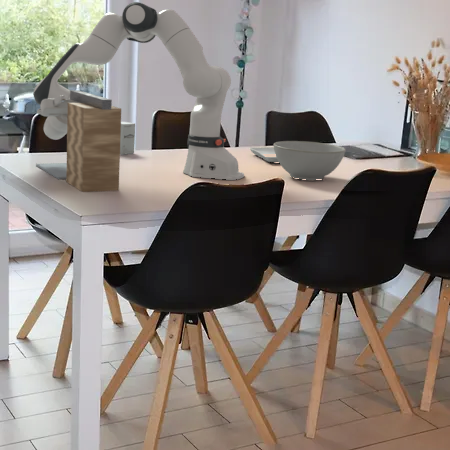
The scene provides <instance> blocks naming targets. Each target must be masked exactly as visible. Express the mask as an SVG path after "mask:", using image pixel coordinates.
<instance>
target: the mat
mask: <svg viewBox="0 0 450 450" xmlns="http://www.w3.org/2000/svg"><path fill="white" fill-rule="evenodd" d="M35 165H36V167H38V168H39V169H40V170H42V171H44V172H46V173H47V174H49V175H51V176H52V177H54V178H55V179H57V180H66V172H67V162H53V163H52V162H51V163H49V162H47V163H45V162H44V163H36V164H35Z"/></svg>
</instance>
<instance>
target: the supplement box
mask: <svg viewBox="0 0 450 450" xmlns="http://www.w3.org/2000/svg"><path fill="white" fill-rule="evenodd" d="M135 137H136V123H134V122H128V121H121V137H120V156H122V155H130V154H131V155H132V154H133V153H134V154H135V139H136V138H135Z"/></svg>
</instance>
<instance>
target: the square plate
mask: <svg viewBox="0 0 450 450" xmlns="http://www.w3.org/2000/svg"><path fill="white" fill-rule="evenodd" d="M248 150H250V151H251V153H252V154H254V155H255V156H257V157H258V158H260V157H261V158H260V159H262V158H263V160H264V161H266V162H267V163H270V162H279V161H278V159H277V157H265V156H264V155H263V154H275V151H274V147H266V146H265V147H264V146H263V147H251V146H250V147H248Z"/></svg>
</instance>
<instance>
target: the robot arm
mask: <svg viewBox="0 0 450 450" xmlns="http://www.w3.org/2000/svg"><path fill="white" fill-rule="evenodd" d="M155 37H157V38H159V39H160V41H161V42H162V44H163V45H164V46H165V48H166V50H167V51H168V52H169V54H170V56H171V57H172V58H173V61H174V62H175V64H176V65H177V67H178V70H179V72H180V75H181V76H182V79H183V80H182V83H183V84H182V85H183V88H184V91H185V92H186V93H187V94H188V95H190V96H192V97H195V99H196V100H195V103H194V105H193V107H192V108H193V109H191V112H190V120H189V121H190V123H189V124H190V125H189V134H188V135H187V137H188V138H187V156H186V161H185V165H184V169H183V173H184V174H186V175H188V176H189V177H191V176H192V177H193V178H200V177H201V178H202V179H211V178H215V180H222V179H226V180H225V181H237V180H240V179H243V178H245V173H244V172H241V171H239V162H238V159H237V157H235V156H234V155H233V154H232V153H231V152H230V151H229V150H228V149H227V148H225V142H226V140H227V139H226V138H223V137H222V136H221V120H222V112H223V110H224V109H223V108H224V103H225V101H226V97H227V93H228V91H229V89H230V86H231V84H232V79H231V75H230V74H229V72H228V71H227V70H226V69H224V68H222V67H221V66H218V65H211V64H209V63H208V61H207V59H206V56H205V54H204V51H203V45H202V43H200V41H199V40H198V38H197V37H196V35H195V34H194V32H193V31H192V29H191V28H190V25H188V24H187V22H186V21H185V20H184V19H183V17H181V15H180V14H179V13H178V12H176V11H175V10H174V9H171V8H168V9H164V10H162V11H160V12H157V10H156V9H155V8H153V7H151V6H149V5H146V4H145V3H142V2H138V1H135V2H130V3H128V4H127V5H126V6H125V7H124V9H123V11H122V14H121V15H120V14H117V13H114V12H107V13H105V14H104V15H103V16H102V17H101V18H100V19H99V21H98V22H97V24H96V25H95V26H94V28H93V29H92V31H91V32H90V34H89V36H88V37H87V38H86V39H85V40H84V41H82V42H76V43H74V44H73V45H71V47H70V48H69V49H67V51H66V52H65V53H64V54H63V55H62V56H61V58H60V59H59V60H58V62H57V63H56V64H55V65H54V66H53V67H52V68H51V70H50V71H49V72H48V74H47V75H46V76H45V77H44V78H42V79H41V80H40V81H39V82H38V83H37V84H36V86H35V88H34V90H33V98H34V100H35V103H36V104H37V105H39V106H40V107H39V108H38V109H37V111H36V114H38V115H40V116H43V117H46V119H45V121H44V124H43V132H44V134H45V136H46V137H48V138H49V139H51V140H55V141H56V140H60V139H62V138H63V137H65V135H66V136H67V113H68V103H80V102H77V101H74V100H71V99H70V89H68V88H66V87H65V86H64V85H62V84H60V83H59V82H58V80H59V79H60V78H61V77H62V75H63V74H64V73H65V72H66V71H67V70H68V68H69V67H70V66H71V65H72V64H75V63H83V64H88V65H95V66H101V65H102V66H103V65H106V64H108V63H110V62H111V60H112V59H113V58H114V56H115V55H116V53H117V52H118V50H119V48H120V46H121V45H122V43H123V41H124V40H126V39H127V40H128V41H133V42H136V43H140V44H141V43H142V44H147V43H149V42H151V41H153V40H154V38H155ZM236 179H237V180H236Z"/></svg>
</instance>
